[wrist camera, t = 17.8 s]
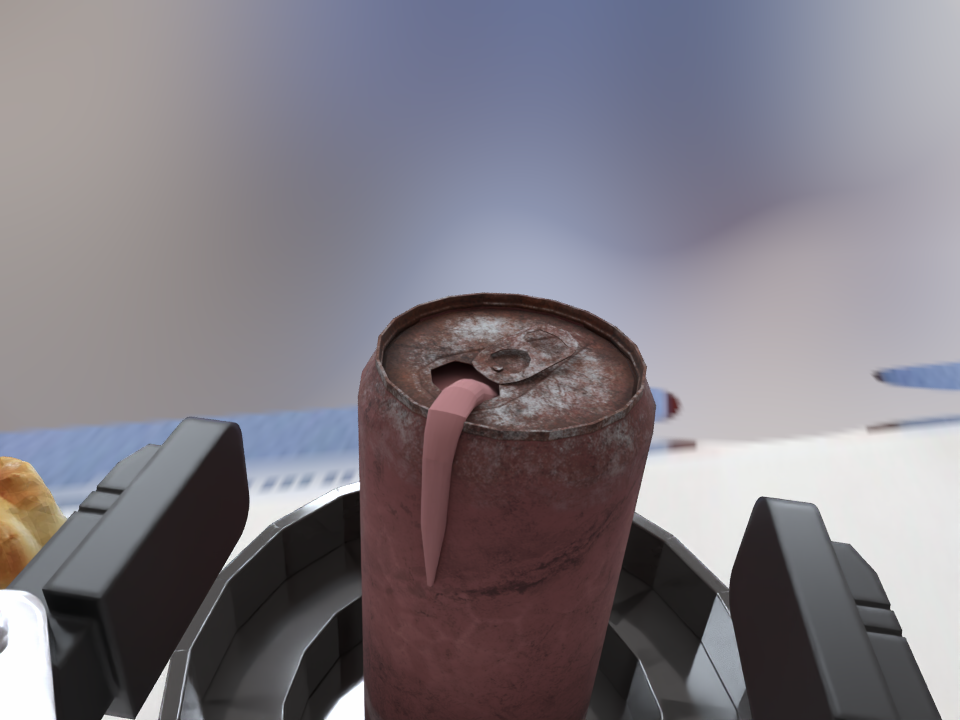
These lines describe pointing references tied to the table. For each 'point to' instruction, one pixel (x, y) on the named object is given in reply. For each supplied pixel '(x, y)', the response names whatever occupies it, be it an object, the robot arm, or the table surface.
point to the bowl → (339, 630)
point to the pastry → (23, 517)
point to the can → (495, 505)
